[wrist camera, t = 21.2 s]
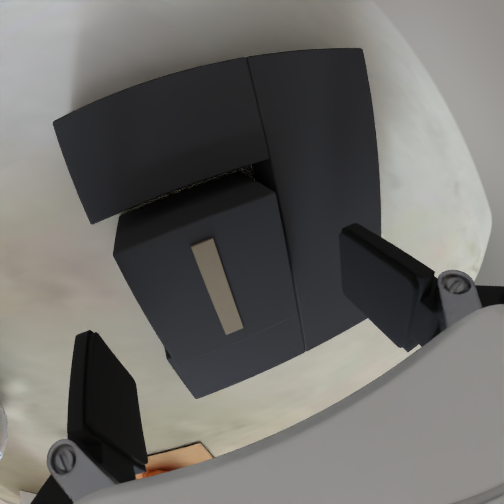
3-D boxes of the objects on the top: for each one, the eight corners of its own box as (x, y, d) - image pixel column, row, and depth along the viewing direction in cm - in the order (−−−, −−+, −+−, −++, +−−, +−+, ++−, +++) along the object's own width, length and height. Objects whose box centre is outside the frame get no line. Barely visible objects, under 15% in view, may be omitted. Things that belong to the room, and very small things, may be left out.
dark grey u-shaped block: (67, 120, 10) (51, 121, 8) (331, 53, 12) (363, 48, 10) (187, 370, 18) (195, 399, 16) (356, 293, 20) (377, 312, 18)
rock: (199, 441, 23) (213, 479, 19) (229, 474, 29) (241, 501, 25) (92, 465, 20) (97, 500, 16) (145, 495, 26) (152, 521, 22)
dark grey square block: (118, 216, 12) (111, 255, 9) (240, 170, 13) (277, 192, 10) (165, 313, 15) (177, 368, 12) (265, 273, 17) (300, 316, 13)
